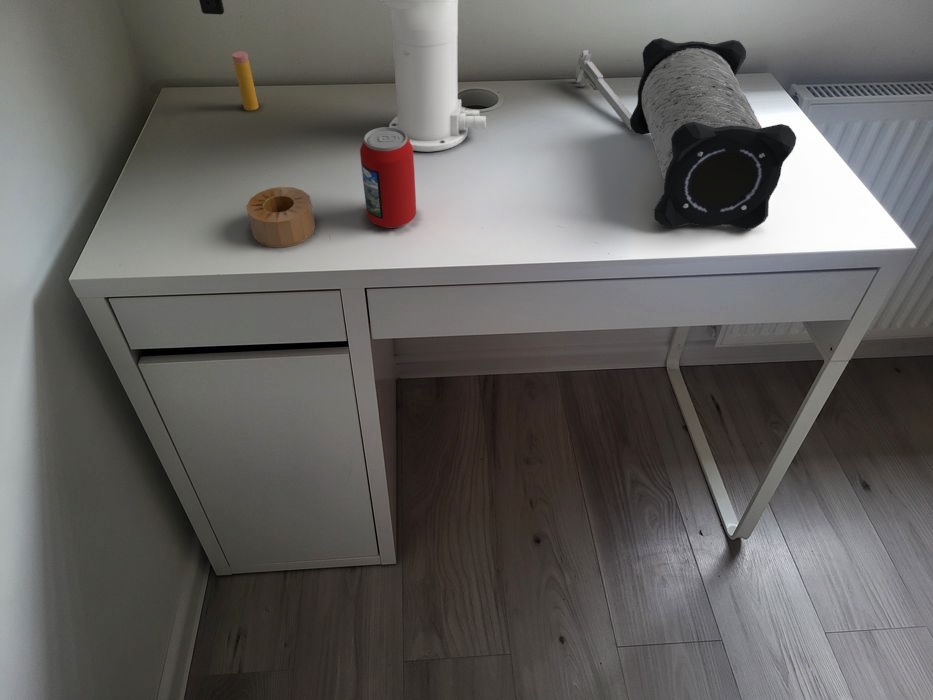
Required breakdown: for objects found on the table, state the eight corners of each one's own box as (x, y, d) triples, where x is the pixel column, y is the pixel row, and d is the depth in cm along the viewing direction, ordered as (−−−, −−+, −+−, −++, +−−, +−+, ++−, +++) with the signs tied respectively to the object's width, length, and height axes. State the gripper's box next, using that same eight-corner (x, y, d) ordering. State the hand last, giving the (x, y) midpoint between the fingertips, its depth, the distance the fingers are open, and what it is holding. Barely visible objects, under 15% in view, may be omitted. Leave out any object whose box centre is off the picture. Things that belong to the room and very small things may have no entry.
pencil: (260, 104, 121) (249, 51, 114) (256, 111, 119) (244, 57, 113) (246, 103, 121) (234, 50, 115) (242, 110, 119) (229, 57, 113)
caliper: (574, 82, 127) (578, 47, 123) (579, 81, 128) (584, 46, 123) (635, 134, 114) (642, 97, 110) (640, 133, 114) (648, 96, 110)
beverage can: (367, 205, 99) (358, 125, 91) (415, 203, 100) (411, 123, 91) (367, 233, 95) (357, 151, 86) (417, 231, 95) (413, 149, 87)
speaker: (719, 130, 114) (746, 35, 104) (765, 236, 94) (805, 133, 84) (626, 127, 115) (643, 33, 104) (653, 233, 95) (678, 130, 84)
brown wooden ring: (321, 213, 98) (317, 188, 95) (306, 249, 92) (301, 223, 89) (263, 210, 98) (257, 185, 96) (245, 245, 93) (238, 220, 90)
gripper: (200, -116, 90) (230, 24, 102) (242, -145, 102) (264, -17, 114) (142, -118, 90) (179, 21, 102) (191, -147, 102) (219, -19, 114)
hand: (224, 1), depth 108 cm, fingers open, 9 cm apart
